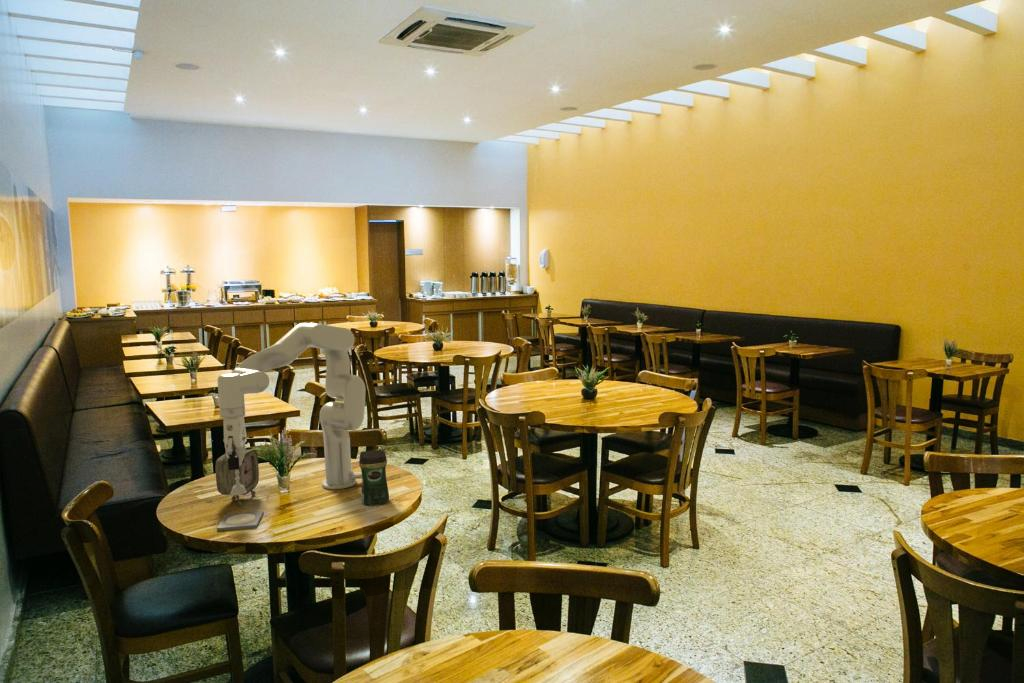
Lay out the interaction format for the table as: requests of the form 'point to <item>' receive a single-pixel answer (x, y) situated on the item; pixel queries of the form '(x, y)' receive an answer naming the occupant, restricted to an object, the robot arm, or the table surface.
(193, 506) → the table surface
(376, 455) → the coffee jar
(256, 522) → the plate
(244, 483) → the tabletop clock
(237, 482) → the chalice
